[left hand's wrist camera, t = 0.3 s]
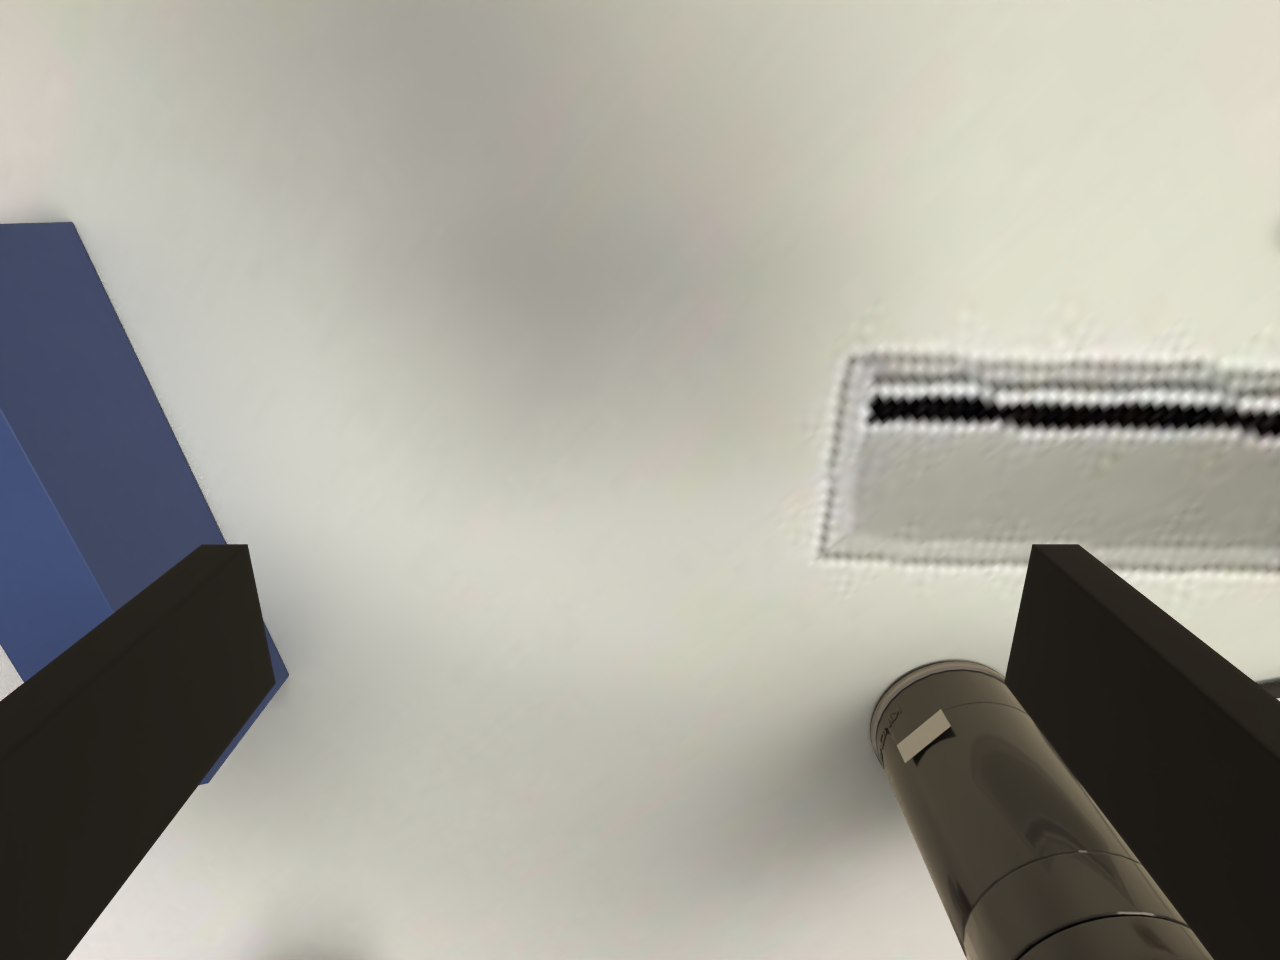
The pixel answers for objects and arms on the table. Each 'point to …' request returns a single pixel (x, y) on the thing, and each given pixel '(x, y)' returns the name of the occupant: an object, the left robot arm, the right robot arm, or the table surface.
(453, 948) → the table surface
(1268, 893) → the left robot arm
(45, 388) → the bar
